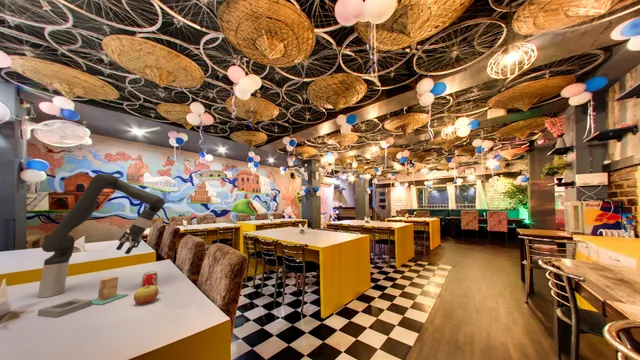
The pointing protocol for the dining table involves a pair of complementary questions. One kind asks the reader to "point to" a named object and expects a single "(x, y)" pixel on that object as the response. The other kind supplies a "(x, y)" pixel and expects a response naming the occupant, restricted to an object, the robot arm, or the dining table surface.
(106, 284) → the oak block
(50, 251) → the robot arm
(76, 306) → the frame
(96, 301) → the teal mat
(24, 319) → the dining table surface
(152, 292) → the apple
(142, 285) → the soda can
